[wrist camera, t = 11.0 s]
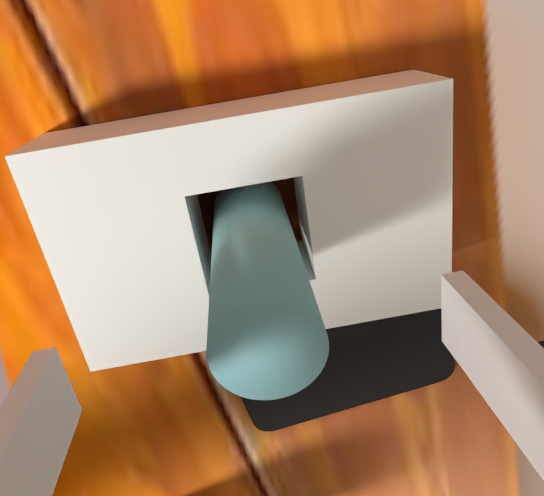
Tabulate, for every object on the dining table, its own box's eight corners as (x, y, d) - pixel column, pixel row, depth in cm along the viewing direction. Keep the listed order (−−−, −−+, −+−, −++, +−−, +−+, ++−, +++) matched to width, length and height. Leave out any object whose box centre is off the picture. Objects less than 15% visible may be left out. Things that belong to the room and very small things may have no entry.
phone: (224, 360, 32) (442, 293, 32) (224, 352, 33) (437, 287, 32) (258, 436, 36) (457, 377, 35) (258, 427, 36) (452, 370, 35)
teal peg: (221, 242, 29) (219, 409, 16) (207, 179, 27) (194, 311, 15) (286, 230, 29) (334, 388, 17) (277, 167, 28) (322, 288, 15)
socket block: (110, 320, 31) (90, 371, 26) (43, 133, 26) (4, 156, 21) (418, 265, 31) (451, 306, 26) (413, 69, 26) (453, 78, 21)
